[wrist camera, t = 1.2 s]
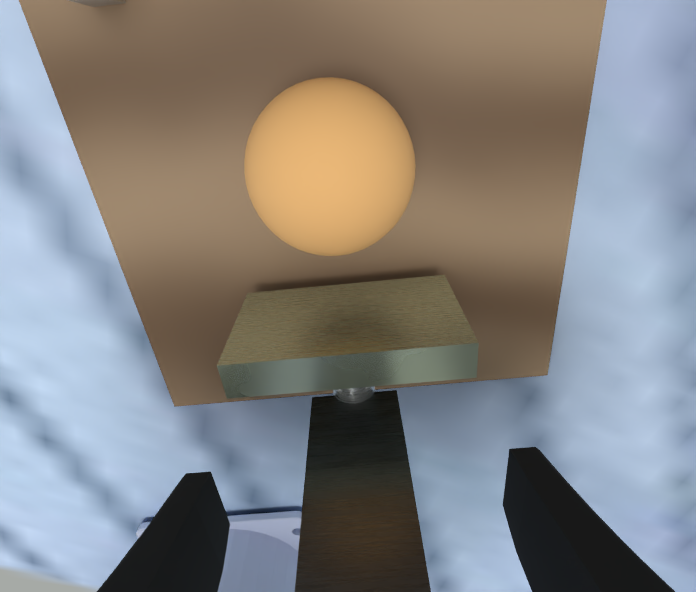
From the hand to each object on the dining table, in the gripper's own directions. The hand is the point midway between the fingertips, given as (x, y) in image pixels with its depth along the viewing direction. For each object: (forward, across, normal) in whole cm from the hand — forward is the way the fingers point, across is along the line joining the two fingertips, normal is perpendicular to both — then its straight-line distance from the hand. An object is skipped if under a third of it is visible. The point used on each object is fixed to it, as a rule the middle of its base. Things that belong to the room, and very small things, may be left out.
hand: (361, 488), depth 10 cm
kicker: (+5, 0, -1) cm, 5 cm away
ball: (+3, 0, -7) cm, 8 cm away
